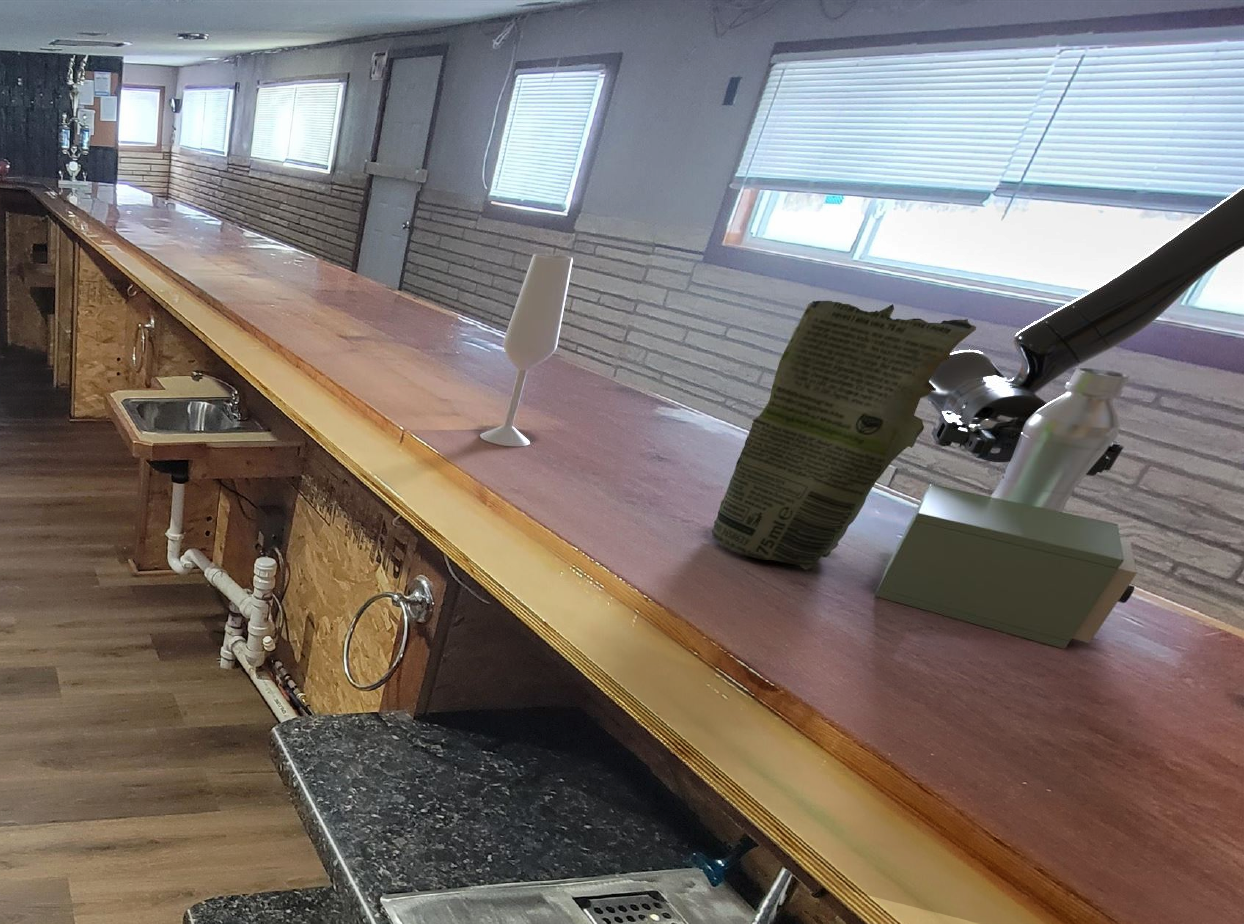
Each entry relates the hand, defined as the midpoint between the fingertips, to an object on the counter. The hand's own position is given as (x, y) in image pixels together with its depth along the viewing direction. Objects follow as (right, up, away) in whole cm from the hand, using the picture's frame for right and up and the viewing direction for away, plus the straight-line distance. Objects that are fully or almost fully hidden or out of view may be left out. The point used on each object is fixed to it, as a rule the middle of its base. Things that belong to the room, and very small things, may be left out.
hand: (1040, 457), depth 90 cm
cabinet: (-12, -15, -5) cm, 19 cm away
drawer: (-10, -15, -6) cm, 19 cm away
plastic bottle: (-2, -11, +3) cm, 12 cm away
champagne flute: (-39, +10, +36) cm, 54 cm away
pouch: (-24, -9, +4) cm, 26 cm away
